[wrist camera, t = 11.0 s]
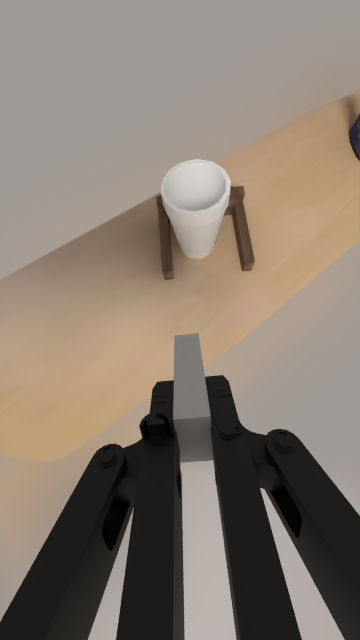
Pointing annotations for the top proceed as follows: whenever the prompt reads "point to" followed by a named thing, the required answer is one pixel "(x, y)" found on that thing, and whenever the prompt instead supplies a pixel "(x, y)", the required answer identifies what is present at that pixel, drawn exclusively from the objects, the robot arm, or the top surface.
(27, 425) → the top surface
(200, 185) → the foam cup
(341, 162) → the top surface
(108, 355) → the top surface
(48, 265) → the top surface
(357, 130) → the flask
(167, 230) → the corral
